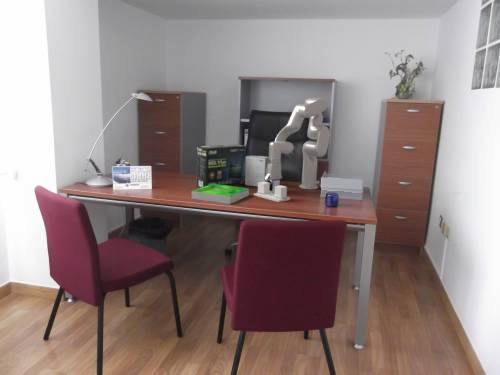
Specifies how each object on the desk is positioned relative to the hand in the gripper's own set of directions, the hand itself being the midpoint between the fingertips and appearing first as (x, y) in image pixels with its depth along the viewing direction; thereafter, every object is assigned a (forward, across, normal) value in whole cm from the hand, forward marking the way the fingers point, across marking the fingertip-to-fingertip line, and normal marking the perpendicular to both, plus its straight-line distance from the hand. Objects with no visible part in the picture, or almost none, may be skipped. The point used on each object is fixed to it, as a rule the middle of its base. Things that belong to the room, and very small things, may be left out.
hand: (273, 189), depth 263 cm
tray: (+3, +36, -9) cm, 37 cm away
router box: (+2, +13, -36) cm, 38 cm away
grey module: (+2, 0, 0) cm, 2 cm away
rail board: (+2, +12, +10) cm, 16 cm away
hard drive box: (+2, -6, -21) cm, 22 cm away
